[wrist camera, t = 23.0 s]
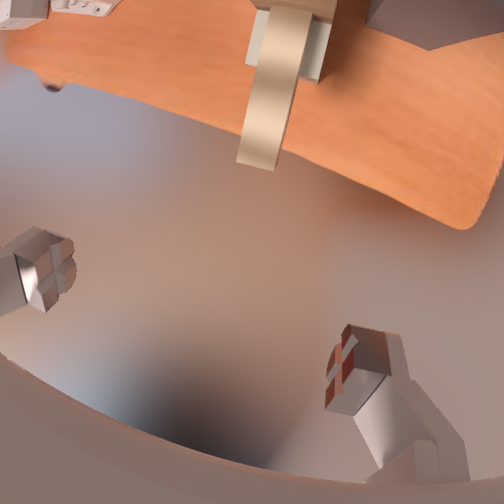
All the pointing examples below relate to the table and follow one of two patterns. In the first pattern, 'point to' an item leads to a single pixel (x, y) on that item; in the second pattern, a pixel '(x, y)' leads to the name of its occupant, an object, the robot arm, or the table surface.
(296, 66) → the mallet
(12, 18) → the small box
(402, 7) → the pedestal
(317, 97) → the table surface
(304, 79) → the stand
